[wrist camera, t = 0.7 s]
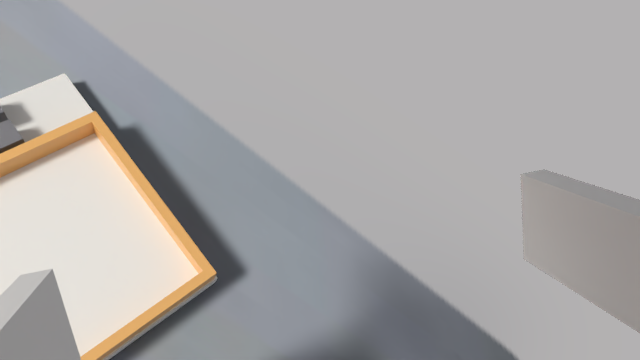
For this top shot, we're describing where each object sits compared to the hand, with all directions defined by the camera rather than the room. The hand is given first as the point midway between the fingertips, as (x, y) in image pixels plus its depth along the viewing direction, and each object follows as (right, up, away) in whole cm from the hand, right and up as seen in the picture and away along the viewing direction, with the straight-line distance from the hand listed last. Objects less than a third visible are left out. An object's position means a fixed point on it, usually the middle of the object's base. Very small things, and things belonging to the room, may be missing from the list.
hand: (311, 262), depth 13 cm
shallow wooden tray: (-17, -1, +17) cm, 24 cm away
